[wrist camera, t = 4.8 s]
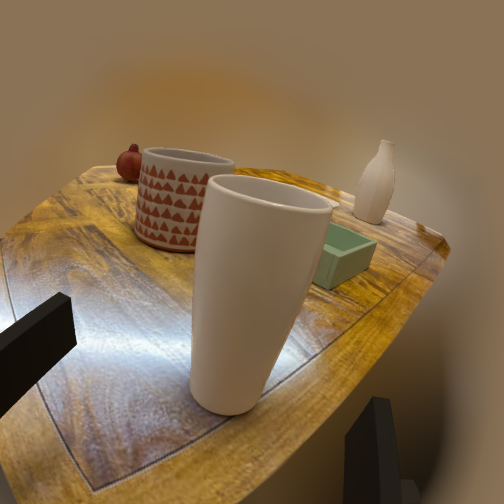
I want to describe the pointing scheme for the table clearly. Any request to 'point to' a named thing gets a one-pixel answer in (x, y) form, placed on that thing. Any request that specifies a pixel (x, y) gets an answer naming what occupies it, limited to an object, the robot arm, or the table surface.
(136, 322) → the table surface
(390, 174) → the bottle
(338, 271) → the bin
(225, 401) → the white cup
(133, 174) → the fruit
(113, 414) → the table surface
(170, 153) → the planter
